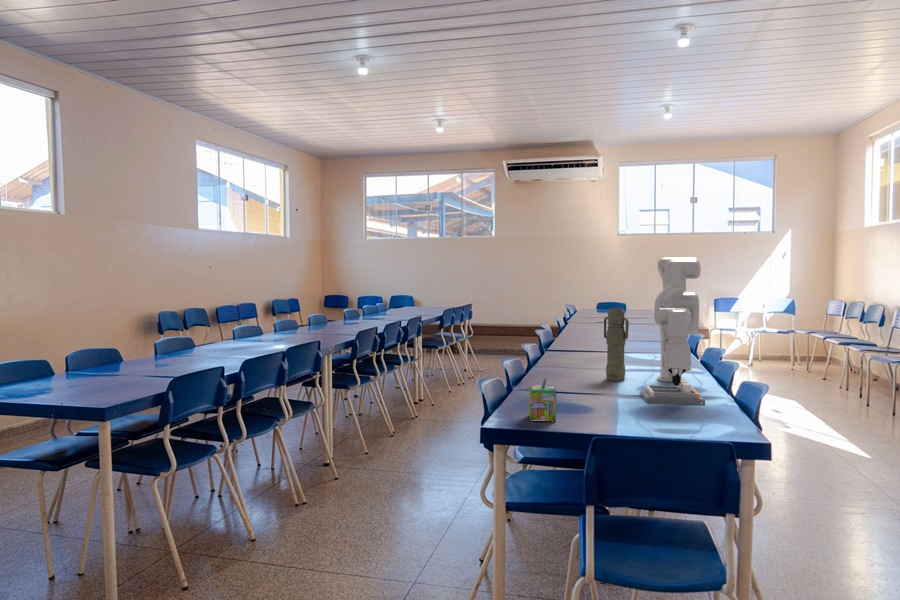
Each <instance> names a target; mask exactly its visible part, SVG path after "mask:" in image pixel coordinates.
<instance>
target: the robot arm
mask: <svg viewBox="0 0 900 600" xmlns="http://www.w3.org/2000/svg"><path fill="white" fill-rule="evenodd" d="M701 268H702V267H701V263H700V261H699V259H698V258H697V257H695V256H694V257H693V256H692V257H691V256H687V257H685V256H684V257H681V256H680V257H679V256H678V257H676V256H675V257H674V256H672V257H663V258H660V259H659V260H658V261H657V270H658V272H659V277H660V278H661V280H662V291H661V292H660V293H658V294H657V296H656V297H655V301H654V304H653V305H654V307H653V308H654V310H653V311H654V313H653V314H654V315H653V316H654V321H655V323H656V324H657V325H658V327H659V332H660V333H659V335H660V372H659V373H660V374H659V375H657V377H656V379H657V380H658V381H662V382H665V383H666V382H667V383H672V384H673V386H677V385H678V386H679V383H681V380H686V378H685V377H683V374H684V373H685V372H690V371H691V370H692V368H691V367H692V356H691V355H692V352H691V347H690V344H689V343H688V336H691V335H693V336H694V335H697V334H698V332H699V328H700V327H699V326H700V297H699V295H698V294H697V293H696V292H692V291H687V280H688V279H691V280H692V279H698V278H700V276H701V270H702V269H701Z"/></svg>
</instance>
